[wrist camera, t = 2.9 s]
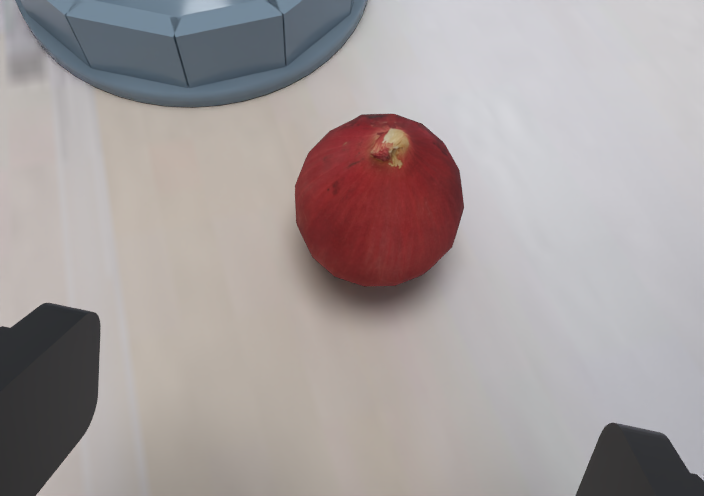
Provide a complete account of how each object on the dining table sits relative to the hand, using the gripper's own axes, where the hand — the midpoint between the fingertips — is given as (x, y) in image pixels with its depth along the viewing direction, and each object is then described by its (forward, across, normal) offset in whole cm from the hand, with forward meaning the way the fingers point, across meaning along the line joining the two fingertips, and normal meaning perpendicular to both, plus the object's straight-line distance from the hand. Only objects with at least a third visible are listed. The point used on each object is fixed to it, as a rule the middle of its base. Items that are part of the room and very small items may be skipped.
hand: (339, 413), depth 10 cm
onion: (+15, 0, +3) cm, 15 cm away
